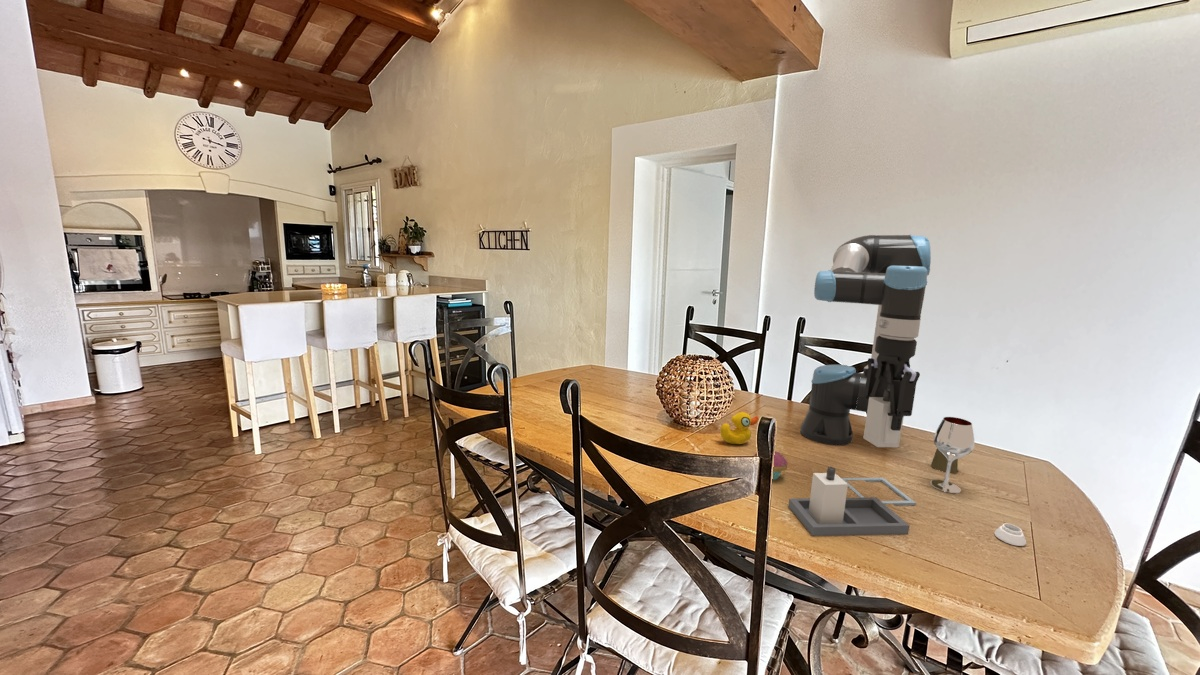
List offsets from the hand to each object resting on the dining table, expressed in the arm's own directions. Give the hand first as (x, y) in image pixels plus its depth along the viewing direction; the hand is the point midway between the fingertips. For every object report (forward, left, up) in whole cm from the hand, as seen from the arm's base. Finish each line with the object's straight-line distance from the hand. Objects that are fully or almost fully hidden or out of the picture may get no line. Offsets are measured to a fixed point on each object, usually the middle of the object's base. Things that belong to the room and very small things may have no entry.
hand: (881, 437), depth 104 cm
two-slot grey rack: (+5, -9, -18) cm, 21 cm away
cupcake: (-15, -18, -18) cm, 30 cm away
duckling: (-36, -19, -18) cm, 44 cm away
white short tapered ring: (+12, +22, -18) cm, 31 cm away
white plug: (+5, -14, -17) cm, 23 cm away
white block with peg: (0, 0, -1) cm, 1 cm away
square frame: (-7, +6, -18) cm, 20 cm away
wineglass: (-9, +26, -18) cm, 33 cm away
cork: (-19, +34, -18) cm, 43 cm away
